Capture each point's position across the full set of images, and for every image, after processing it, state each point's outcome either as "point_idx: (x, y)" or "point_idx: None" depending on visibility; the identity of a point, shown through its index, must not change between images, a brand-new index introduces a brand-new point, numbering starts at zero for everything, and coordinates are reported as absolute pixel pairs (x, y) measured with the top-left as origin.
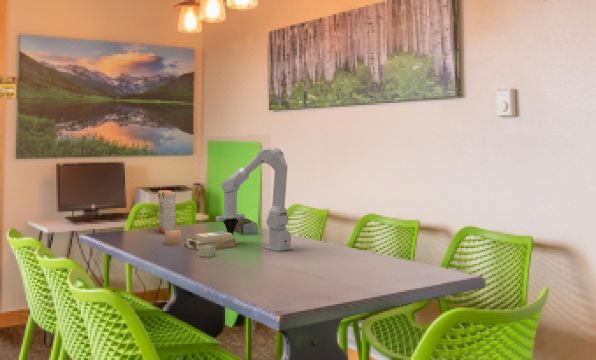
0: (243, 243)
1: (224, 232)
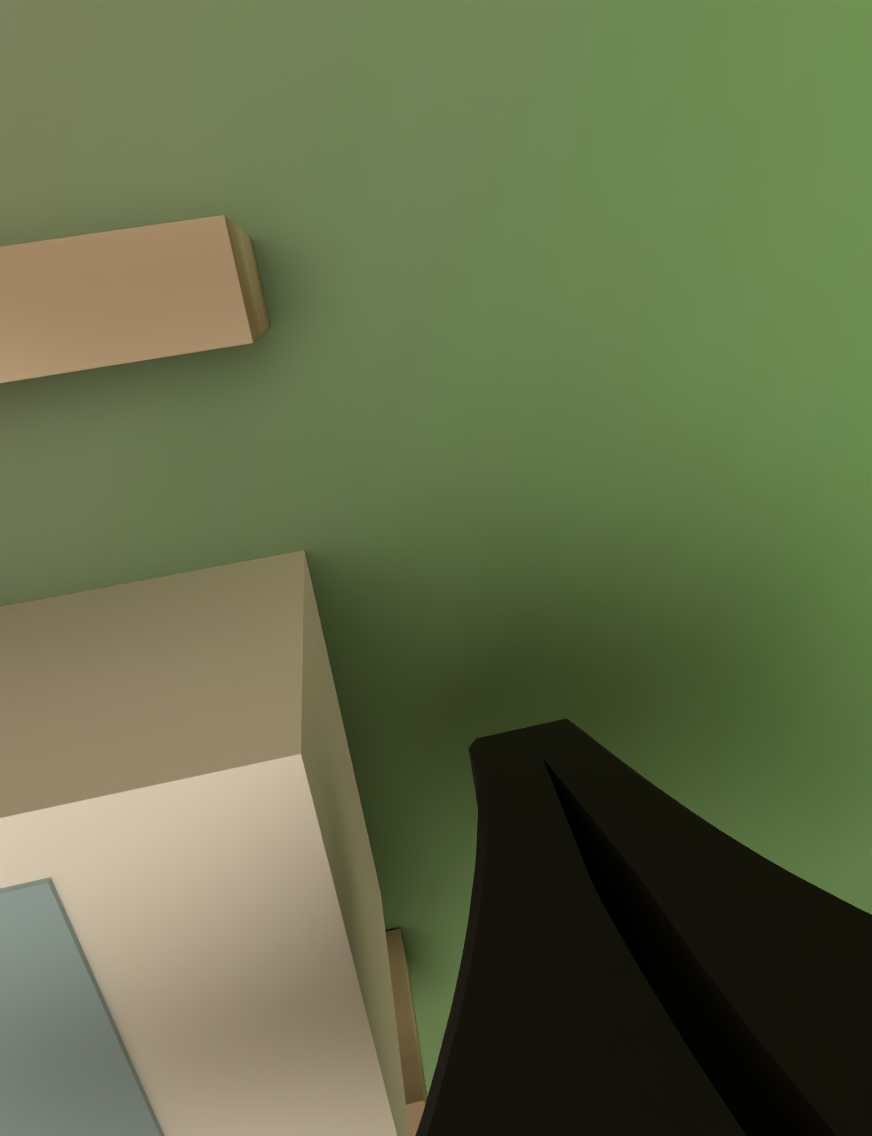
0: (745, 717)
1: (244, 1035)
